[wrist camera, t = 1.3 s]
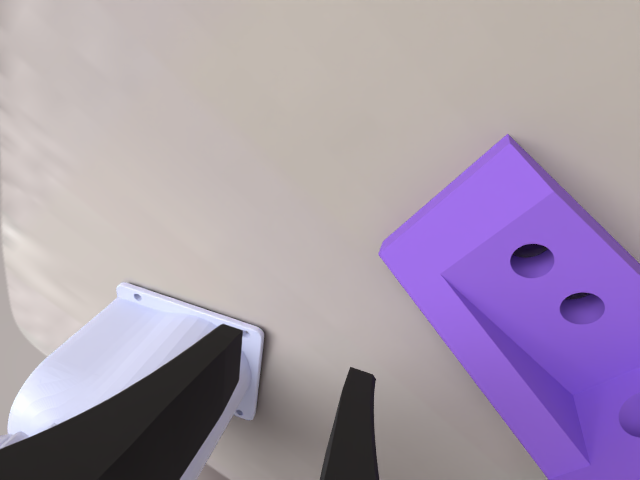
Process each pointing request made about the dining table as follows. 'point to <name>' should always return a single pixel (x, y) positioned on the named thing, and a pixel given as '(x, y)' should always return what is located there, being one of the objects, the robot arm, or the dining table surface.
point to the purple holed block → (532, 311)
